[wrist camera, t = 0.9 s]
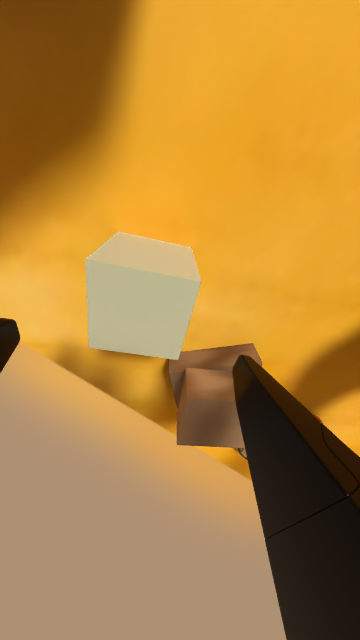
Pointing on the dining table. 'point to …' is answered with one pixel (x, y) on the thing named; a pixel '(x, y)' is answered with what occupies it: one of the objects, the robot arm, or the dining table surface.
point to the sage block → (140, 295)
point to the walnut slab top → (208, 410)
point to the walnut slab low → (207, 362)
